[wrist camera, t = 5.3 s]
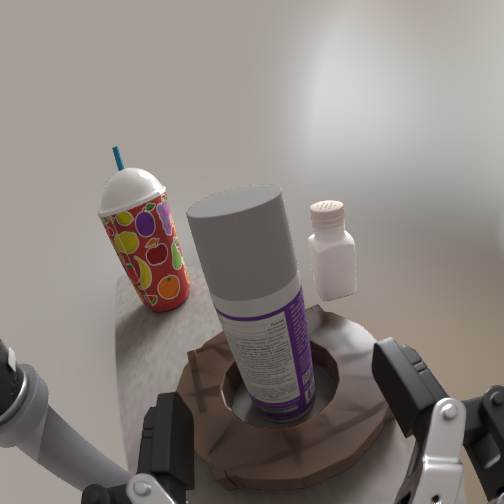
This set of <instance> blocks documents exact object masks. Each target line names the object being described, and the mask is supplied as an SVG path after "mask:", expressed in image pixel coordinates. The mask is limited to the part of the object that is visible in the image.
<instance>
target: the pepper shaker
mask: <svg viewBox="0 0 504 504" xmlns="http://www.w3.org/2000/svg"><path fill="white" fill-rule="evenodd" d="M310 212H311V219H312V227H313V228H314V234H313V235H311V236H310V237H309V238H308V245H309V252H310V259H311V267H312V274H313V282H314V285H315V287H316V289H317V291H318V293H319V295H320V297H321V298H322V300H323V301H330V300H334V299H337V298H342V297H345V296H349V295H352V294H354V293H356V260H355V242H354V240H353V239H352V237H351V236H350V235H349V233H347V232H346V231H345V227H344V224H345V219H344V209H343V204H342V203H341V202H338V201H322V202H319V203H315V204H313V205H312V206H310Z"/></svg>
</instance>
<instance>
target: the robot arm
mask: <svg viewBox="0 0 504 504" xmlns="http://www.w3.org/2000/svg"><path fill="white" fill-rule="evenodd" d="M371 369H372V374H373V377H374V379H375V381H376V383H377V385H378V387H379V389H380V390H381V392H382V394H383V396H384V398H385V400H386V402H387V403H388V405H389V407H390V409H391V411H392V413H393V415H394V417H395V419H396V421H397V422H398V424H399V426H400V428H401V430H402V432H403V434H404V436H405V438H407V437H409V436H411V435H413V434H414V436H415V438H416V442H415V446H414V449H413V453H412V456H411V460H410V463H409V467H408V470H407V473H406V476H405V479H404V481H403V484H402V485H401V487H400V489H399V491H398V494H397V496H396V499H395V501H394V504H433V503H432V502H433V501H434V504H455V502H456V498H457V494H458V491H459V487H460V483H461V478H462V474H463V464H462V463H461V462H460V456H461V450H462V445H463V446H464V448H465V449H466V451H467V454H468V456H469V458H470V460H471V462H472V464H473V467H474V469H475V471H476V473H477V476H478V478H479V480H480V483H481V485H482V487H483V490H484V492H485V495H486V497H487V500H488V504H504V387H503V386H499V385H496V386H492V387H490V388H489V389H487V391H486V392H485V394H484V395H483V396H481V397H477V398H474V399H470V400H466V401H460V400H458V399H456V398H451V397H449V396H448V395H447V394H446V392H445V391H444V389H443V388H442V386H441V385H440V384H439V382H438V381H437V379H436V378H435V376H434V375H433V374H432V372H431V371H430V369H428V368H427V365H426V364H425V363H424V361H422V359H421V357H420V356H419V354H418V353H417V352H416V351H415V350H414V349H412V348H410V347H409V346H407V345H403V346H399V345H398V344H397V342H396V341H395V340H394V339H393V338H392V337H389V338H387V339H384V340H382V341H379V342H376V343H374V346H373V355H372V364H371ZM28 389H29V377H28V375H27V373H26V372H25V371H24V370H23V368H22V367H21V366H19V364H18V363H17V362H16V360H15V354H14V352H13V351H12V349H11V348H10V347H9V351H8V349H7V348H6V346H5V345H4V344H3V342H2V341H1V339H0V425H2V424H4V423H6V422H7V421H9V420H10V419H11V418H12V417H13V416H14V415H15V414H16V413H17V412H18V410H19V409H20V407H21V406H22V404H23V402H24V400H25V398H26V396H27V393H28ZM186 490H195V484H194V418H193V415H192V412H191V410H190V409H189V408H188V406H187V405H186V403H185V402H184V400H183V399H182V398H181V396H180V395H179V393H178V392H171V393H162V394H159V395H158V397H157V404H156V407H150V408H149V410H148V412H147V414H146V415H145V417H144V423H143V430H142V439H141V444H140V452H139V461H138V469H137V473H136V475H134V476H133V477H131V478H130V479H129V481H128V483H126V484H124V485H120V486H115V487H111V488H105V487H103V486H101V485H99V484H91V485H89V486H87V487H86V488H85V489H84V491H83V493H82V500H81V504H191V503H190V501H189V500H188V499H187V498H186Z"/></svg>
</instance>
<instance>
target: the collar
mask: <svg viewBox="0 0 504 504" xmlns="http://www.w3.org/2000/svg"><path fill="white" fill-rule="evenodd" d="M305 312H306V319H307V326H308V334H309V341H310V349H311V357H312V361H313V362H315V363H317V364H319V365H320V366H322V367H324V368H326V369H327V370H328V371H329V372H330V374H331V375H332V376H333V378H334V379H335V381H336V382H337V389H336V391H335V394H334V397H333V399H332V401H331V402H330V403H329V404H328V405H327V406H326V407H325V408H324V409H323V410H322V411H321V412H320V413H319V414H318V415H317V416H315V417H314V418H311V419H309V420H307V421H305V422H302V423H300V424H297V425H295V426H293V427H288V428H269V429H264V428H261V427H257V426H254V425H251V424H249V423H246V422H243V421H241V420H240V419H239V418H238V417H237V416H236V415H235V414H234V413H233V411H232V408H231V406H232V401H233V395H234V391H235V390H236V388H237V387H238V385H239V384H240V382H241V381H242V379H243V378H242V376H241V374H240V371H239V369H238V366H237V364H236V361H235V359H234V356H233V354H232V351H231V349H230V346H229V343H228V341H227V338H226V336H225V333H224V331H222V332H221V333H219V334H218V335H216V336H215V337H213V338H212V339H210V340H209V341H207V342H206V343H205V344H204V345H203V346H202V347H201V348H199V349H196V350H192V351H189V352H187V354H188V360H189V362H188V363H187V365H186V366H185V367H184V370H183V372H182V375H181V378H180V381H179V384H178V387H177V390H176V392H178V393H179V395H180V396H181V398H182V399H183V400H184V402H185V403H186V405H187V406H188V408H189V409H190V410H191V412H192V415H193V418H194V450H195V452H196V453H197V454H198V455H199V457H200V458H201V459H202V460H203V461H204V462H205V463H206V464H207V465H208V466H209V467H210V468H211V469H212V470H213V474H214V477H215V481H217V482H218V483H219V484H220V485H221V486H223V487H224V488H225V489H227V490H228V491H229V490H233V489H237V488H238V487H239V488H240V487H244V486H248V487H251V488H253V489H300V488H307V487H309V486H312V485H314V484H316V483H319V482H321V481H323V480H325V479H328V478H330V477H332V476H334V475H336V474H338V473H340V472H342V471H344V470H346V469H348V468H350V467H351V466H352V465H353V464H354V463H355V462H356V461H357V460H358V459H359V458H360V456H361V455H362V454H363V453H364V452H365V451H366V450H367V448H368V447H369V446H370V445H371V444H372V443H373V441H374V440H375V439H376V438H377V436H378V435H379V433H380V431H381V428H382V425H384V424H386V423H387V422H389V421H391V420H392V419H394V418H395V417H394V415H393V413H392V411H391V409H390V407H389V405H388V403H387V402H386V400H385V398H384V396H383V394H382V392H381V390H380V389H379V387H378V385H377V383H376V381H375V379H374V377H373V374H372V369H371V364H372V355H373V346H374V343H376V342H378V341H377V340H376V339H375V338H374V337H373V336H372V335H371V334H370V333H369V332H368V331H367V330H366V329H365V328H364V327H363V326H362V325H359V324H357V323H355V322H353V321H350V320H348V319H346V318H343V317H341V316H338V315H336V314H334V313H331V312H324V311H323V309H322V308H321V307H320V306H319V305H315V306H313V307H311V308H308V309H306V310H305Z"/></svg>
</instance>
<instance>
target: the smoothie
mask: <svg viewBox="0 0 504 504" xmlns="http://www.w3.org/2000/svg"><path fill="white" fill-rule="evenodd" d="M112 149H113V152H114V156H115V159H116V162H117V166H118V169H119V171H118V172H116V173H114V174H113V175H112V176H111V177H110V178H109V179H108V180H107V182H106V183H105V185H104V186H103V189H102V191H101V196H100V210H99V211H98V215H99V217H100V218H101V220H102V223H103V225H104V227H105V230H106V232H107V234H108V236H109V238H110V241H111V243H112V245H113V247H114V249H115V251H116V253H117V255H118V257H119V259H120V261H121V263H122V265H123V267H124V269H125V271H126V273H127V275H128V277H129V279H130V280H131V282H132V284H133V286H134V288H135V290H136V292H137V293H138V295H139V297H140V299H141V301H142V302H143V304H145V305H147V306H149V308H150V309H151V310H153V311H158V312H161V311H167V310H171V309H173V308H175V307H177V306H179V305H180V304H182V303H183V302H184V301H185V300H186V299H187V297H188V295H189V289H188V288H189V286H190V280H189V277H188V274H187V270H186V267H185V263H184V260H183V256H182V253H181V249H180V246H179V242H178V238H177V235H176V231H175V227H174V223H173V220H172V216H171V212H170V208H169V204H168V200H167V195H166V192H165V190H166V189H165V187H164V186H162V185H161V184H160V183H159V181H158V180H157V179H156V178H155V177H154V176H153V175H152V174H150V173H149V172H147V171H145V170H142V169H138V168H126V169H124V166H123V163H122V159H121V156H120V153H119V149H118V146H116V147H114V148H112Z"/></svg>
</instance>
